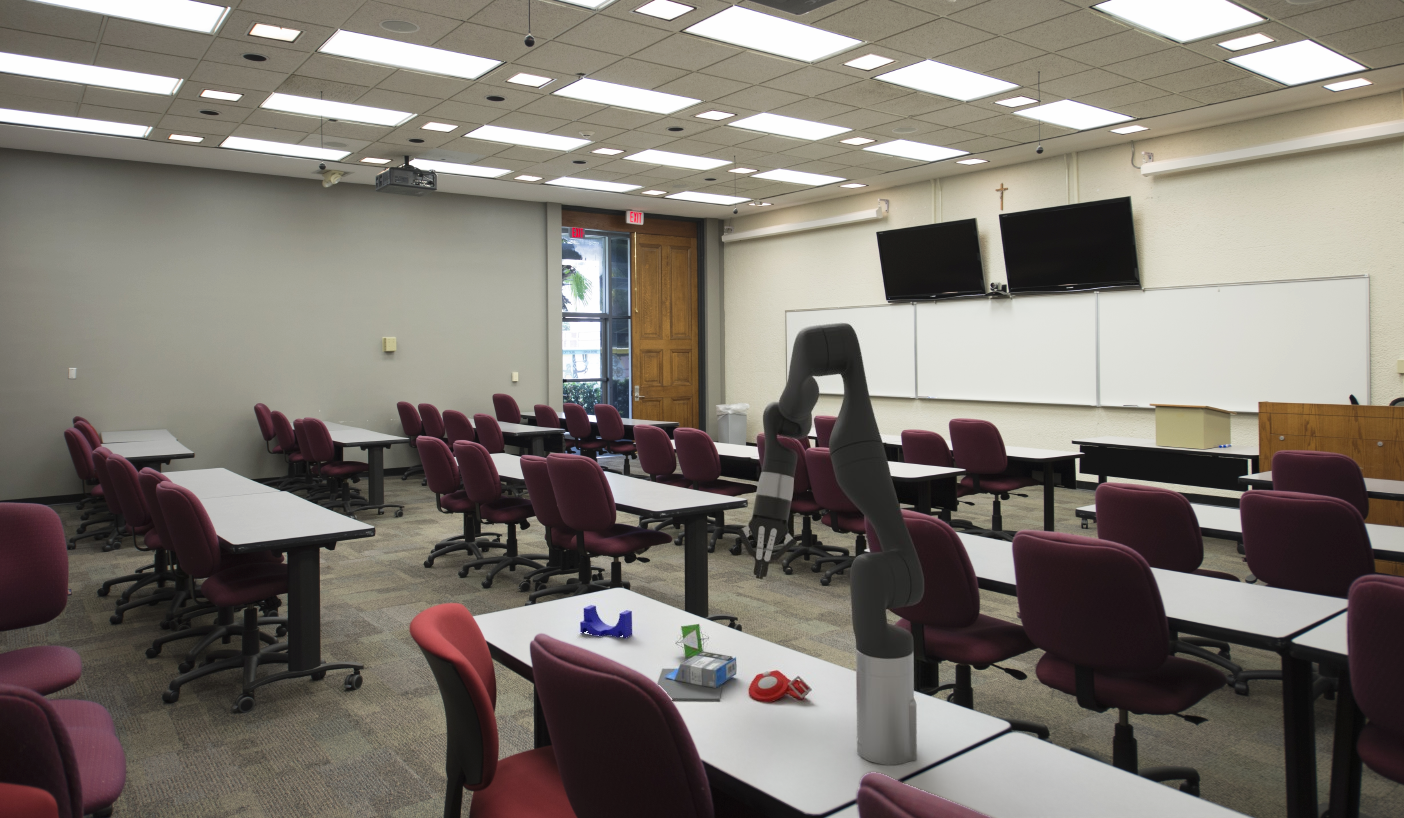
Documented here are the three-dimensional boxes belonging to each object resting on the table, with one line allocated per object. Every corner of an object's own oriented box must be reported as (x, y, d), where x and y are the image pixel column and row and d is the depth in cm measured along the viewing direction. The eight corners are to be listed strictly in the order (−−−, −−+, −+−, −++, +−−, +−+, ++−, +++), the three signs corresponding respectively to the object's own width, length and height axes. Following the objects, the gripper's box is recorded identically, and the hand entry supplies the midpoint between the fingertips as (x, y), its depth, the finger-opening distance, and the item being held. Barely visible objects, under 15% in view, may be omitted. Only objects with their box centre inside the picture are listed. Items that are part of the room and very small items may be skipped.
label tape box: (715, 670, 169) (663, 658, 175) (715, 690, 169) (663, 678, 175) (737, 656, 176) (686, 646, 182) (737, 675, 176) (686, 664, 183)
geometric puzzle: (670, 640, 194) (676, 618, 189) (699, 636, 197) (705, 614, 192) (678, 667, 189) (684, 645, 184) (708, 662, 191) (714, 640, 186)
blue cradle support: (580, 634, 207) (579, 609, 207) (591, 628, 211) (590, 604, 211) (621, 640, 202) (621, 615, 201) (632, 635, 206) (631, 610, 205)
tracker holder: (747, 699, 162) (745, 668, 172) (753, 718, 163) (750, 687, 173) (810, 684, 161) (804, 655, 171) (815, 704, 163) (809, 673, 172)
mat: (723, 670, 180) (723, 668, 180) (719, 700, 164) (719, 698, 164) (662, 670, 181) (662, 668, 181) (652, 699, 165) (652, 697, 165)
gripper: (742, 489, 177) (727, 572, 175) (805, 500, 176) (791, 585, 173) (743, 492, 185) (729, 572, 182) (804, 503, 183) (790, 584, 181)
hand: (759, 578), depth 178 cm, fingers closed
